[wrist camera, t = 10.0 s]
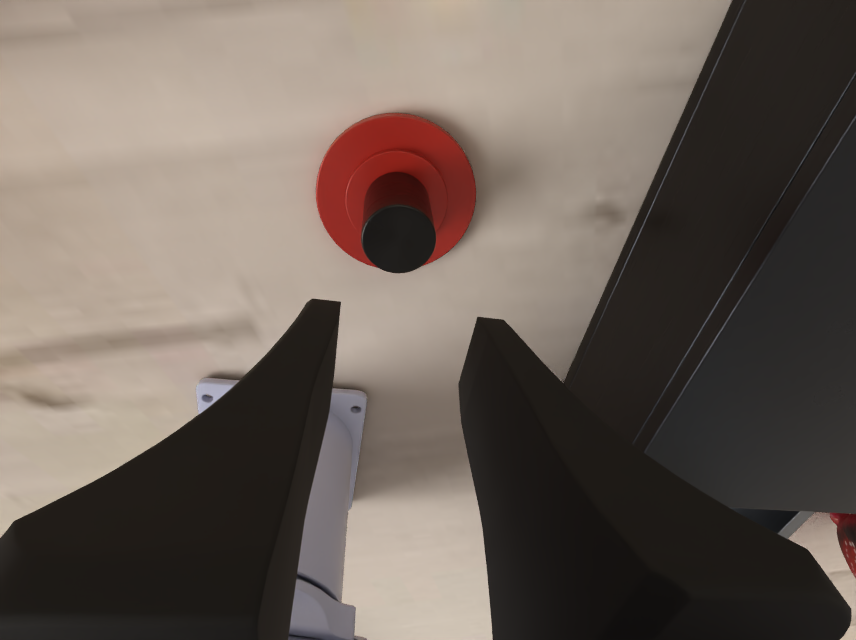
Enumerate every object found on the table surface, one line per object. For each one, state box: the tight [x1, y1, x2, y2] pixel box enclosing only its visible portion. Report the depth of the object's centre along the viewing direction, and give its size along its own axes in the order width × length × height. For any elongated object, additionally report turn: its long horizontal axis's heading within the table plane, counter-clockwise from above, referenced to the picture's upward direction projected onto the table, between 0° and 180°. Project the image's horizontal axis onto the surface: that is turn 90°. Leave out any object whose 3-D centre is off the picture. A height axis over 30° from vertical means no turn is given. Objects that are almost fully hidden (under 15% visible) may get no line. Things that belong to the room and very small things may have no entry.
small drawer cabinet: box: [563, 0, 856, 514], centre depth 19 cm, size 17×12×7 cm
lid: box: [316, 113, 476, 273], centre depth 17 cm, size 6×6×4 cm
